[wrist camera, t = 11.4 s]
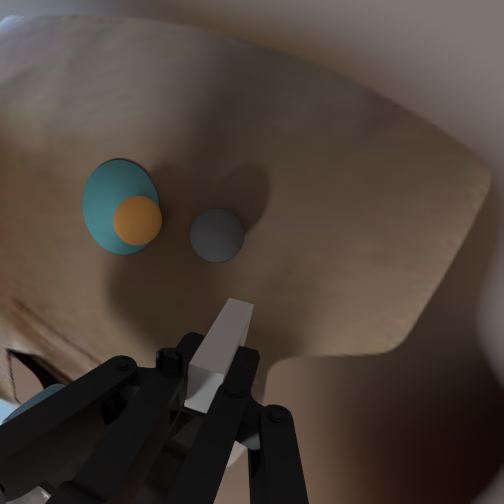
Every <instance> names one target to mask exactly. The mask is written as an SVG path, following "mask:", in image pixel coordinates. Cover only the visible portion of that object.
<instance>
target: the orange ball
mask: <svg viewBox="0 0 504 504" xmlns="http://www.w3.org/2000/svg"><path fill="white" fill-rule="evenodd" d="M161 225H162V215H161V212H160V209H159V207H158V206H157V204H156V203H155V202H154V201H152V200H151V199H149V198H147V197H144V196H132V197H129V198H127V199H125V200H124V201H123V202H122V203H121V204H120V205H119V206H118V208H117V209H116V212H115V215H114V227H115V230H116V233H117V234H118V236H119V237H120V238H121V239H122V240H123V241H124V242H126V243H128V244H131V245H144V244H147V243H149V242H150V241H152V240H153V239H154V238H155V237H156V236H157V235H158V233H159V231H160V229H161Z"/></svg>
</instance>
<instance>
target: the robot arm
mask: <svg viewBox="0 0 504 504" xmlns="http://www.w3.org/2000/svg"><path fill="white" fill-rule="evenodd" d="M253 307H254V304H251V303H247V302H243V301H240V300H236V299H233V298H229V299H228V301H227V302H226V304H225V306H224V307H223V309H222V310H221V312H220V314H219V315H218V317H217V319H216V320H215V322H214V324H213V325H212V327H211V328H210V330H209V332H208V333H207V335H206V336H204V335H201V334H198V333H195V332H190V333H188V334H186V335H185V336H184V337H183V338H182V340H181V341H180V342H179V344H178V345H177V347H176V348H175V349H174V348H163V349H160V350H159V351H157V352H156V367H155V368H144V367H138V366H137V364H136V361H135V360H133V359H132V358H130V357H128V356H123V355H121V356H115V357H113V358H111V359H109V360H108V361H106V362H104V363H103V364H101V365H100V366H98V367H96V368H95V369H93V370H91V371H90V372H88V373H87V374H85V375H83V376H82V377H80V378H78V379H77V380H75V381H74V382H72V383H70V384H69V385H67V386H65V385H62V384H54V385H51V386H49V387H47V388H46V389H44V390H43V391H41V392H39V393H38V394H36V395H35V396H34V397H32V398H31V399H29V400H28V401H27V402H25V403H24V404H22V405H21V406H20V407H19V408H17V409H16V410H15V411H14V412H12V413H11V414H10V415H9V416H8V417H7V418H6V419H5V420H4V421H3V422H2V425H0V504H213V503H214V500H215V497H216V495H217V492H218V489H219V486H220V483H221V480H222V477H223V474H224V471H225V469H226V466H227V463H228V460H229V457H230V454H231V451H232V448H233V445H234V442H235V440H236V441H237V442H239V443H241V444H242V445H244V446H246V447H248V468H249V486H250V487H249V488H250V504H309V502H308V497H307V491H306V487H305V480H304V475H303V470H302V464H301V459H300V454H299V449H298V443H297V438H296V433H295V428H294V422H293V417H292V415H291V412H290V411H289V410H287V409H286V408H285V407H283V406H280V405H275V404H274V405H268V406H265V407H264V406H262V405H260V404H259V403H257V402H256V401H255V400H254V399H253V397H252V396H251V387H252V384H253V381H254V377H255V374H256V370H257V367H258V363H259V360H260V355H259V352H258V350H254V349H250V348H247V347H243V346H244V344H245V341H246V337H247V332H248V328H249V324H250V320H251V316H252V312H253Z"/></svg>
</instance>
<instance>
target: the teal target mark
mask: <svg viewBox="0 0 504 504" xmlns="http://www.w3.org/2000/svg"><path fill="white" fill-rule="evenodd" d="M132 196H144V197H147V198H149V199H151V200H152V201H154V202H155V203H156V204H157V206H158V207H159V199H158V195H157V191H156V189H155V186H154V184H153V183H152V181H151V179H150V178H149V176H148V175H147V174H146V173H145V172H144V170H142V169H141V168H140V167H139V166H137V165H136V164H134V163H131V162H129V161H125V160H112V161H109V162H106V163H104V164H102V165H101V166H99V167H98V168H97V169H96V170H95V171H94V172H93V173H92V174H91V176H90V178H89V179H88V181H87V183H86V186H85V189H84V194H83V214H84V219H85V222H86V225H87V227H88V229H89V231H90V233H91V235H92V236H93V238H94V239H95V240H96V241H97V243H98V244H100V245H101V246H102V247H103V248H104V249H106V250H108V251H110V252H112V253H115V254H119V255H129V254H133V253H136V252H138V251H140V250H141V249H143V248H144V247H145V246H146V245H147V244H148V243H147V244H144V245H131V244H128V243H126V242H124V241H123V240H122V239H121V238H120V237H119V236H118V234H117V233H116V230H115V227H114V215H115V212H116V209H117V208H118V206H119V205H120V204H121V203H122V202H123V201H124V200H125V199H127V198H129V197H132ZM159 209H160V207H159Z"/></svg>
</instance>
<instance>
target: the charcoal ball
mask: <svg viewBox="0 0 504 504" xmlns="http://www.w3.org/2000/svg"><path fill="white" fill-rule="evenodd" d="M190 241H191V244H192V247H193V249H194V251H195V252H196V253H197V254H198V255H199V256H200V257H201V258H203V259H204V260H206V261H209V262H214V263H220V262H225V261H228V260H230V259H231V258H233V257H234V256H235V255H236V254H237V253H238V252H239V251H240V249H241V247H242V245H243V242H244V229H243V226H242V223H241V222H240V220H239V219H238V217H237V216H236V215H235V214H233V213H232V212H230V211H228V210H225V209H221V208H213V209H209V210H206V211H204V212H203V213H201V214H200V215H199V216H198V217H197V218H196V219H195V220H194V222H193V224H192V226H191V230H190Z"/></svg>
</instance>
